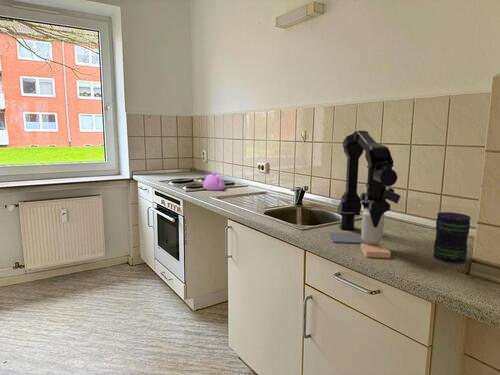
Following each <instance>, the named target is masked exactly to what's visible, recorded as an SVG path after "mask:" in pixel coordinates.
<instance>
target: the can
mask: <svg viewBox="0 0 500 375" xmlns="http://www.w3.org/2000/svg"><path fill="white" fill-rule="evenodd" d="M361 217H362V218H361V230H360V231H361V234H360V235H361V238H362V240H363V241H365V242H366V244H381V242H383V240H384V239H383V237H384V225H385V213H383V214H382V216H381V218H380V221H379V223H378V226H377V227H373V223H372V220H371V216H370V213H369V209H368V208H365V210H363V212H362V216H361Z"/></svg>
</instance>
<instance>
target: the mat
mask: <svg viewBox="0 0 500 375" xmlns="http://www.w3.org/2000/svg"><path fill="white" fill-rule="evenodd" d="M329 235H330V238H331V241H332V242H333V244H334V243H335V244H352V245H353V244H357V245H361V243H366V244H367V242H365V241H363V240H362V238H361V234H360V233H354V232H353V233H352V232H350V233H349V232H329Z"/></svg>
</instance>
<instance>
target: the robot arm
mask: <svg viewBox="0 0 500 375" xmlns="http://www.w3.org/2000/svg"><path fill="white" fill-rule="evenodd" d="M342 147H343V153H344V154H345V157H346V159H347V160H346V174H345V175H346V176H345V177H346V178H345V191H344V193H343V195H342V196H341V198H340V202H339V204H338V206H337V209H336V211H337V215H339V216H341V217H340V219H341V220H340V224H339V225H338V227H339V228H340V230H345V231H348V230H349V231H356V230H357V228H356V227H355V223H356V222H355V220H356V219H355V218H356V216H358V217H359V216H360V215H361V210H362V208H363V209H364V210H363V211H365V208H368V209H369V213H370V216H371V220H372V223H373V227H377V226H378V223H379V221H380V218H381V216H382V214H383V213H384V214H385V213H387V212H389V211H391V204H390V203H389V202H388V201H390V202H393V203H394V204H396V205H397V204H398V203H399V200H400V199H401V196H402V195H400V194H398V193H396V192H395V189H394V188H392V186H394V185H395V184H396V183H397V181H398V175H397V173H396V171H395V170H394V169H393V168H394V159H393V156H392V153H391V151H390V149H389V147H388V146H386V145H385V144H380V143H378V142H376V141H375V139H374V138H373V137H372V136H371V135H370V133H369V131H367V130H355V131H353V133H352V134H349V135H346V137H344V139H343V142H342ZM364 152H365V155H364V157H365V159H366V162H367V165H366V166H367V179H366V183H365V187H366V192H362V193H361V194H360V196H359V194H358V180H359V179H358V178H359V176H358V175H359V164H360V163H359V162H360V157H361V156H362V155H363V153H364ZM387 187H388V188H387Z"/></svg>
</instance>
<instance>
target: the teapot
mask: <svg viewBox="0 0 500 375" xmlns="http://www.w3.org/2000/svg"><path fill="white" fill-rule="evenodd" d="M223 178H224V177H223V176H221V175H220V174H217V172H212V173H211V174H205V175H204V181H203V184H202V186H203V188H204V190H205V189H206V191H209V192H211V191H213V192H216V191H218V192H219V191H222V190H224V189H225V188H226V187H225V186H226V185H225V181H224V179H223Z"/></svg>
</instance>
